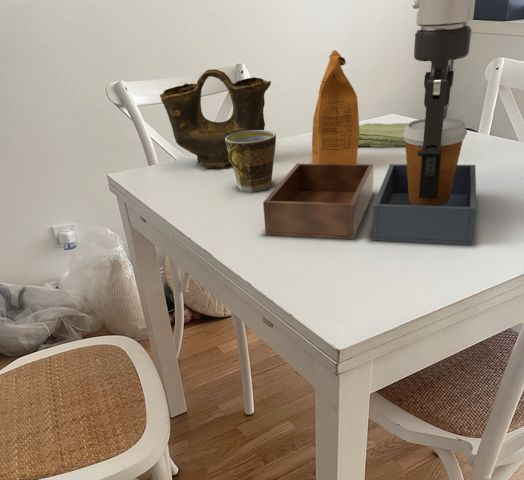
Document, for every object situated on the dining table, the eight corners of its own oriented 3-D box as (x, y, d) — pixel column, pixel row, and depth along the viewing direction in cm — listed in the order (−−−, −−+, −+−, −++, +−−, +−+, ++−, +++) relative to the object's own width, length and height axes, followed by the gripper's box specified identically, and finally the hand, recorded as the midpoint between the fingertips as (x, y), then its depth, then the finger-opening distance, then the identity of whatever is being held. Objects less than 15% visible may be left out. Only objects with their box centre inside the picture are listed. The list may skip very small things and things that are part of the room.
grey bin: (470, 196, 97) (475, 164, 94) (470, 245, 80) (476, 208, 77) (388, 194, 101) (390, 164, 98) (371, 240, 84) (373, 205, 81)
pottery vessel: (276, 153, 131) (270, 61, 120) (275, 165, 122) (269, 68, 111) (175, 160, 133) (160, 70, 122) (167, 173, 124) (150, 78, 113)
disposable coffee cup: (423, 215, 84) (429, 135, 77) (387, 199, 91) (390, 124, 85) (471, 202, 87) (482, 123, 80) (433, 187, 94) (439, 114, 87)
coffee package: (355, 156, 124) (358, 47, 111) (359, 172, 113) (362, 54, 101) (312, 158, 125) (309, 51, 112) (312, 175, 114) (309, 58, 102)
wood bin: (372, 194, 102) (373, 164, 99) (353, 239, 85) (354, 205, 82) (297, 192, 106) (296, 163, 103) (265, 235, 89) (263, 202, 86)
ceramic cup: (246, 177, 117) (242, 128, 111) (287, 181, 112) (284, 131, 107) (213, 196, 108) (206, 145, 102) (255, 202, 103) (251, 148, 98)
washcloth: (422, 148, 125) (423, 133, 123) (346, 147, 130) (347, 133, 129) (427, 134, 135) (428, 120, 133) (357, 134, 140) (357, 121, 139)
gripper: (420, 21, 84) (411, 168, 97) (408, 37, 68) (399, 210, 81) (471, 17, 82) (455, 168, 95) (472, 32, 66) (452, 211, 78)
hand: (429, 187), depth 88 cm, fingers closed on disposable coffee cup, 8 cm apart
